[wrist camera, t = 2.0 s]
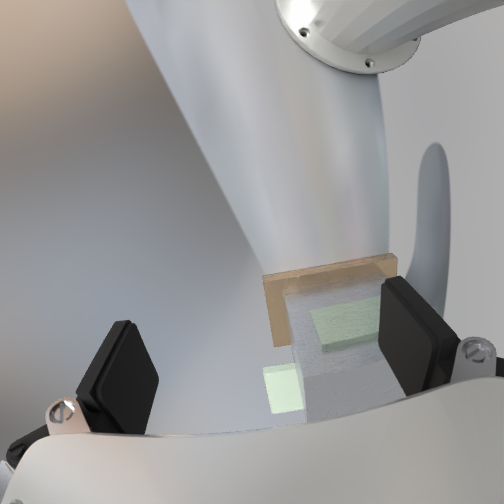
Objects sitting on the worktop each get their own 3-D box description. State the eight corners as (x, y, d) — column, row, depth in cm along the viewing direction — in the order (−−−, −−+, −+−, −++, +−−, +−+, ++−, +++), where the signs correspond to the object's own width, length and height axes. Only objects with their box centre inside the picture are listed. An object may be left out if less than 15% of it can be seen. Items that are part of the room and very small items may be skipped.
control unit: (262, 275, 26) (274, 370, 16) (391, 252, 26) (463, 322, 15) (273, 339, 29) (286, 437, 18) (388, 316, 28) (441, 395, 18)
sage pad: (262, 367, 30) (263, 373, 29) (329, 355, 30) (331, 361, 29) (271, 407, 33) (272, 413, 32) (329, 397, 33) (331, 403, 32)
